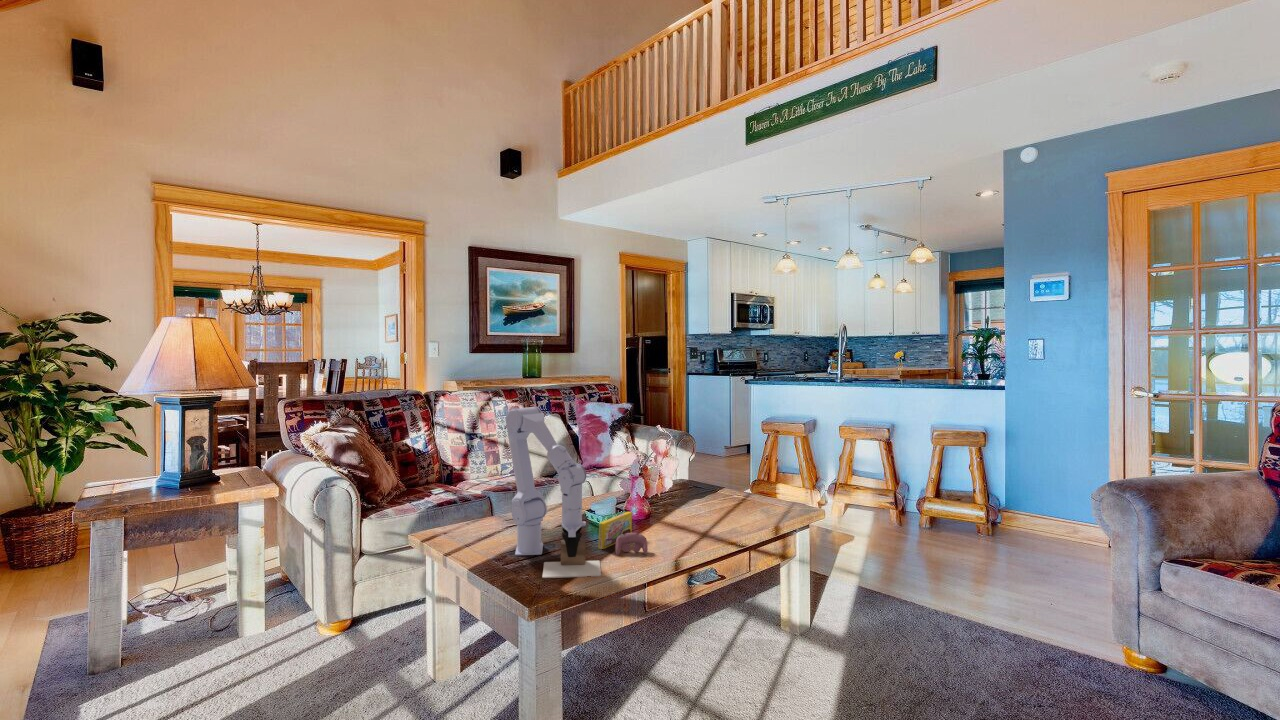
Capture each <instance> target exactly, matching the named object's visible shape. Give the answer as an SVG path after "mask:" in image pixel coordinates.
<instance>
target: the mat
mask: <svg viewBox="0 0 1280 720" xmlns="http://www.w3.org/2000/svg"><path fill="white" fill-rule="evenodd" d="M587 576H591V577H602V571H601V563H600V560H585V564H576V565H561V561H544V562H543V570H542V576H541V577H542V579H556V578H558V579H559V578H562V579H563V578H587Z"/></svg>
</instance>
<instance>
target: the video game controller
mask: <svg viewBox="0 0 1280 720" xmlns="http://www.w3.org/2000/svg"><path fill="white" fill-rule="evenodd" d="M647 541H648V540H647V538H646V537H645V536H644V535H643V534H642V533H639V532H638V533H637V532H631V533H625V534H621V535H620V536H618V537H617V539H616V542H615V544H614V549H615V555H616V556H617V557H618V556H620V554H621V550H622V551H623V552H624V553H629V552H630V550H631V548H630V545H629V544H632V543H633V544H634V545H633V546H632V550H633V552H634V553H639V552H640V550H641V549H642V553H643V555H644V556H647V555H648V542H647Z"/></svg>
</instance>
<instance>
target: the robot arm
mask: <svg viewBox="0 0 1280 720" xmlns="http://www.w3.org/2000/svg"><path fill="white" fill-rule="evenodd" d="M505 425H506V429H507V430H506V431H507V440H508V443H509V449H510V454H511V461H512V468H513V472H514V478H515V484H516V485H515V486H516V491H517V493H516V494H515V495H514V497H513V498H512V499H511V518H512V520H513V521H514V522H515V525H516V526H517V528H516V532H517V533H516V534H517V535H516V536H517V537H516V538H517V542H516V543H517V544H516V547H515V548H516V549H515V553H514V556H535V555H536V556H540V555H542V554H543V547H544V543H543V542H542V522H543V521H544V518H545V517H546V515H547V511H548V509H547V507H548V506H547V504H546V501H545V500H544V497H543V493H542V491H541V492H540V491H539V490H537V488H536V486H535V479H534V473H533V468H532V462H531V456H530V452H529V445H528V439H527V438H528V437H529V436H530V434H531V433H532V434H533V435H534V436H535V438H536V439H537V440H538V441H539V442H540V444H541V445H542V446H543V447H544V448H545V450H546V451H547V455H546V458H547V459H548V461H549V462H550V464H551V465H552V467H553V468H554V470H555V471H556V473H557V474H558V475H557V481H558V485H559V486H560V491H561V529H562V532H561V536H562V540H564V541H565V544H566V548H567V554H568V557H576V553H577V547H578V543H579V540H581V538H582V536H583V532H581V531H582V527H585V526H586V525H587V522H586V521H583V484H584V483H585V482H586V480H587V471H586V469H585V468H584V465H582V464H581V463H578V462H577V461H575V460H574V459H573V458H572V456H571V455H570V454H569V451H567V450H568V449H567V447H565V446H564V445H562V444H558V443H557V442H556V439H555V437H554V436H553V434H552V433H551V431H550V429H549V428H548V426H547V424H546V422H545V414H544V413H543V412H542V410H541V409H540V407H538V406H534V405H533V406H530V407H521V408H511V409H510V410H508V412H507V414H506V416H505Z"/></svg>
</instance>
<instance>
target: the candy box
mask: <svg viewBox="0 0 1280 720" xmlns="http://www.w3.org/2000/svg"><path fill="white" fill-rule="evenodd" d="M632 525H633V512H632V511H625V512H623V513H620V514H619V515H616V516H614V517H611V518H608V519H606V520H602V521H601V522H599V524H598V548H597V549H598V550H602V549H603V550H605V549H607V548H609V547H611V546H614V545H615V542H616V539H617V537H618V536H620V535H621V534H625V533H632V531H633V530H632V529H633V528H632V527H633V526H632Z"/></svg>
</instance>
